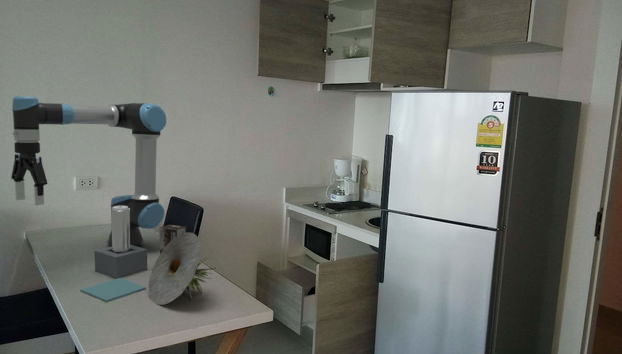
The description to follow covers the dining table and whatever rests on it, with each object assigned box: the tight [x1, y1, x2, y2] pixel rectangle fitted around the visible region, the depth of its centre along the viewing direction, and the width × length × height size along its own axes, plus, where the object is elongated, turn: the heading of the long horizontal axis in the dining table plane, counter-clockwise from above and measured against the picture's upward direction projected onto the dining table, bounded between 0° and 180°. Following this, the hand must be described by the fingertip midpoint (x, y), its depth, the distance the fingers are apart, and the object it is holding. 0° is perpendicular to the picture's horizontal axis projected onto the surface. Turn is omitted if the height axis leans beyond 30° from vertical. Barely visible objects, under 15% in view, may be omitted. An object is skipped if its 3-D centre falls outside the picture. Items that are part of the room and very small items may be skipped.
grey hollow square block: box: [94, 245, 148, 279], centre depth 179 cm, size 14×14×8 cm
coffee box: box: [159, 224, 188, 255], centre depth 186 cm, size 9×6×16 cm
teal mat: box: [80, 277, 147, 303], centre depth 159 cm, size 15×15×1 cm
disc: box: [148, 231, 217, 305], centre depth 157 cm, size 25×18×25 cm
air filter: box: [111, 206, 130, 254], centre depth 178 cm, size 6×6×25 cm
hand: (29, 202), depth 163 cm, fingers open, 13 cm apart
